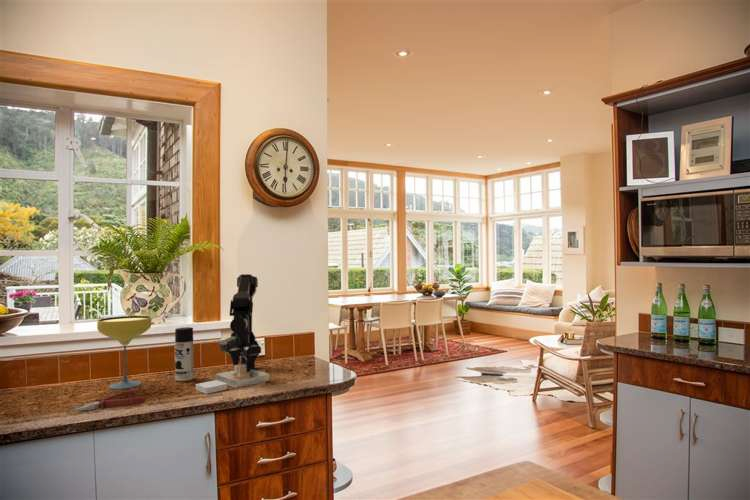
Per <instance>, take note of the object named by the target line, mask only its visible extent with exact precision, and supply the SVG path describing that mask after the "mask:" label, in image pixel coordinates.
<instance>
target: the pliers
mask: <svg viewBox="0 0 750 500" xmlns="http://www.w3.org/2000/svg"><path fill="white" fill-rule="evenodd" d="M136 395H137V394H136V391H133V390H131V391H130V390H129V391H125V392H120V393H116V394H114V395H111V396H107V397H104V398H97V399H95V402H88V403H84V404H81V405H78V406H75V407H72V408H70V409H69V411H72V412H82V411H84V412H85V411H89V410H90V411H91V410H95V409H100V410H102V409H104V408H114V407H116V408H117V407H125V406H133V405H138V404H143V403H145V402H146V397H145V396H144V395H140V396H136Z"/></svg>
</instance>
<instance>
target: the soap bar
mask: <svg viewBox="0 0 750 500" xmlns="http://www.w3.org/2000/svg"><path fill="white" fill-rule="evenodd" d="M225 390H228V385H227V383H224V382H221V381H218V380H215V379H214V380H209V381H205V382H200V383H196V384H195V391H198V392H200V393H202V394H205V395H208V394H211V393H216V392H220V391H225Z"/></svg>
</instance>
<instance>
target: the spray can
mask: <svg viewBox="0 0 750 500" xmlns="http://www.w3.org/2000/svg"><path fill="white" fill-rule="evenodd" d="M174 331H175V332H174V335H175V336H174V362H175V363H174V367H175V368H174V370H175V371H174V376H175V377H174V378H175V379H174V380H175V381H176V382H188V381H189V382H190V381H192V380H193V379H194V328H193V327H192V326H191V327H177V328H175V330H174Z"/></svg>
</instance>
